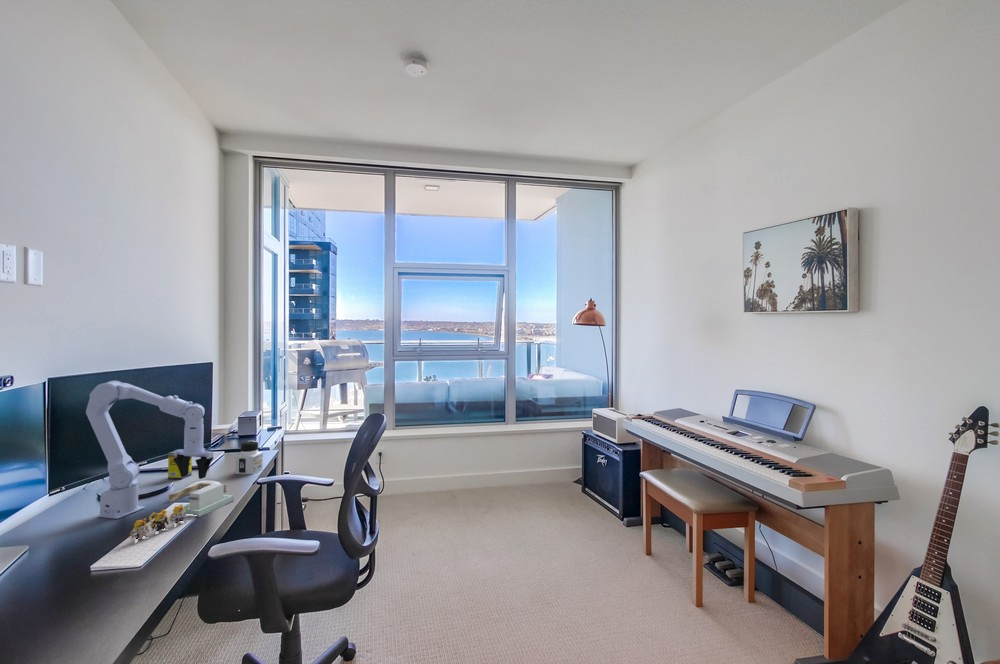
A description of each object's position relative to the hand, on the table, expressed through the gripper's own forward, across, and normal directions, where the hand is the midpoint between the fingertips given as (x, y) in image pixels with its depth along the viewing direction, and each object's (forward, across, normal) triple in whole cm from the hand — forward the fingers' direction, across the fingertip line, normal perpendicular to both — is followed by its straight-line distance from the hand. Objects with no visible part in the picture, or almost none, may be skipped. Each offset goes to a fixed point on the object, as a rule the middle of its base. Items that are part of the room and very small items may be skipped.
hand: (193, 477), depth 160 cm
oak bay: (+9, +3, -5) cm, 11 cm away
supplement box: (+9, +29, -22) cm, 38 cm away
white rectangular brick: (+8, -8, +2) cm, 12 cm away
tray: (+9, -8, +3) cm, 13 cm away
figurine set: (+10, -11, +22) cm, 26 cm away
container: (+9, +8, -35) cm, 37 cm away
